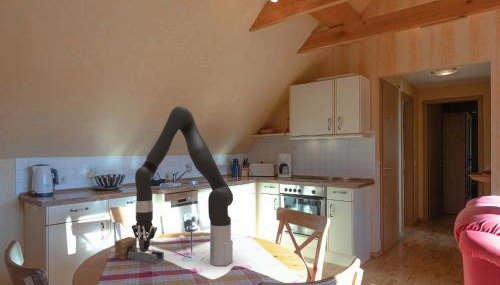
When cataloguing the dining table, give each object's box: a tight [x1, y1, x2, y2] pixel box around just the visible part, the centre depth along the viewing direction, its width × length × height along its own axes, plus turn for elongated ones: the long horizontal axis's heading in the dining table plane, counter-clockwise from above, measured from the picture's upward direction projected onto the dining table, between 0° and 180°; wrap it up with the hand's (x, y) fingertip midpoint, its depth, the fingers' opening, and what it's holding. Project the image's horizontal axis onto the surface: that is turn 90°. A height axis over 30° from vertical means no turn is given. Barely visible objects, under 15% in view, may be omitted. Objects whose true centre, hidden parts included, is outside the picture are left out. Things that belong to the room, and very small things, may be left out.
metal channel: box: [127, 247, 165, 265], centre depth 149 cm, size 16×6×4 cm, turn 66°
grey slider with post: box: [127, 238, 153, 254], centre depth 150 cm, size 13×3×8 cm, turn 66°
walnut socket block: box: [114, 236, 138, 260], centre depth 154 cm, size 5×8×8 cm, turn 156°
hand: (144, 247), depth 149 cm, fingers closed on grey slider with post, 2 cm apart
